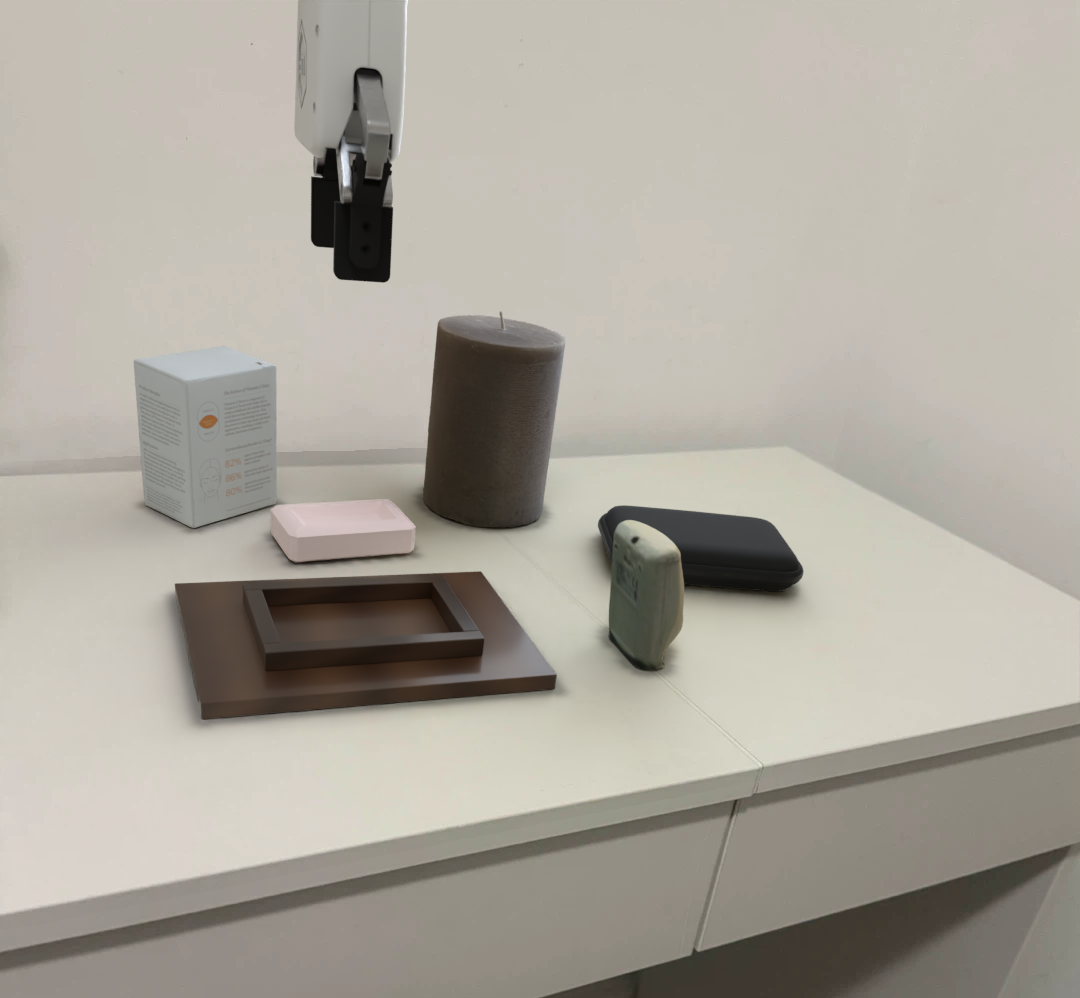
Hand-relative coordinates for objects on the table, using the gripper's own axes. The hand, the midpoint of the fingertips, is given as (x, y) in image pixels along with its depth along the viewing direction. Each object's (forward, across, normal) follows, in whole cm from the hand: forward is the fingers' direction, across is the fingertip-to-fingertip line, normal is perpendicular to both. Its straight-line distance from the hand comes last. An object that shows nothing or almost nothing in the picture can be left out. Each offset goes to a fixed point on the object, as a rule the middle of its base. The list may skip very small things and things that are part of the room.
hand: (348, 262), depth 65 cm
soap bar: (+19, 0, 0) cm, 19 cm away
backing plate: (+19, +14, -1) cm, 24 cm away
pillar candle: (+19, -8, +13) cm, 24 cm away
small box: (+19, -8, -8) cm, 22 cm away
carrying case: (+19, +3, +26) cm, 33 cm away
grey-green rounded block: (+19, +16, +16) cm, 30 cm away
